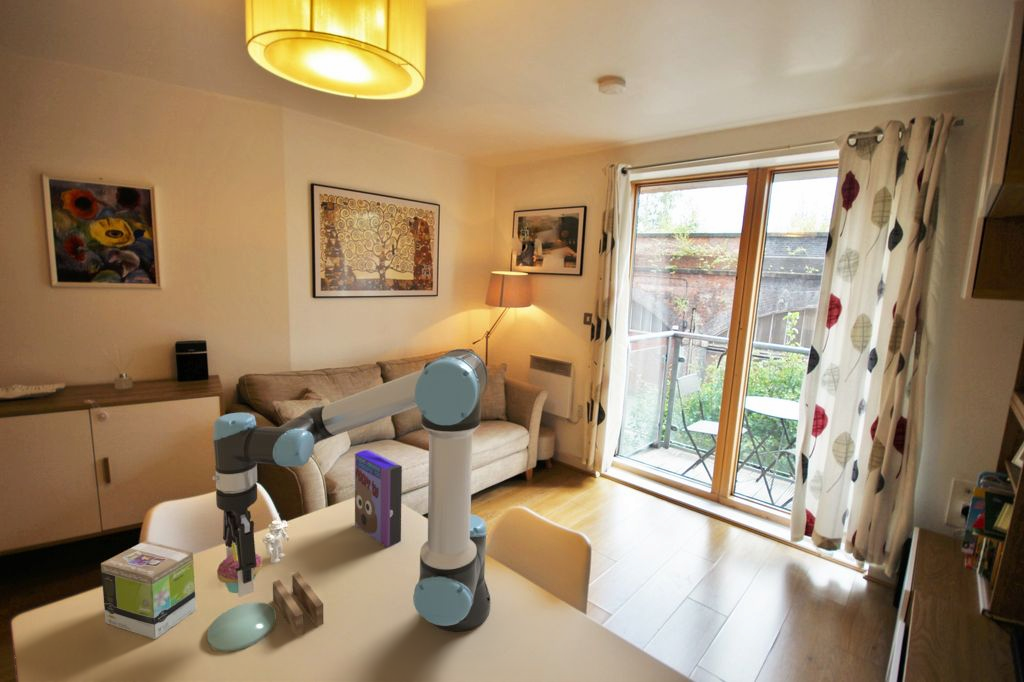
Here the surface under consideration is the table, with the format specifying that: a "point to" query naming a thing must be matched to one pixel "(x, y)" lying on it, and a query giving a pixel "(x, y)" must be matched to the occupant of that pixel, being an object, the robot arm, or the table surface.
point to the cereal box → (378, 497)
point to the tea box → (148, 588)
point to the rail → (288, 608)
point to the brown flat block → (307, 599)
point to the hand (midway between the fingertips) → (240, 583)
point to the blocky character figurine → (276, 539)
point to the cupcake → (229, 573)
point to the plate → (241, 626)
